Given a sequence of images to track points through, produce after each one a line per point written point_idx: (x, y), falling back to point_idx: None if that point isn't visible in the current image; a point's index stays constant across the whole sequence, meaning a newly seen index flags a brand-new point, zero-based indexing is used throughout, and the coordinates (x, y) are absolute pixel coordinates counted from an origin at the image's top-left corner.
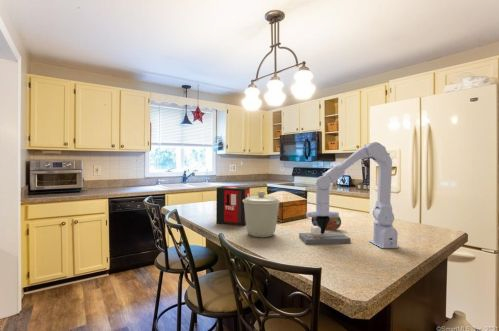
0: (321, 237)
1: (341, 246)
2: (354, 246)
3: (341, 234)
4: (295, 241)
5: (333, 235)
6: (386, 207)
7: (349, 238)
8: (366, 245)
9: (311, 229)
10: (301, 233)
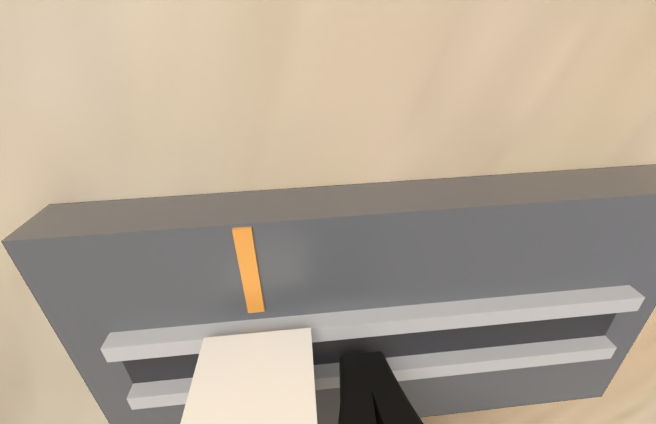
0: (319, 392)
1: (437, 417)
2: (533, 411)
3: (597, 350)
4: (18, 343)
5: (484, 366)
6: None
7: (590, 396)
8: (637, 392)
9: (194, 400)
10: (50, 260)
